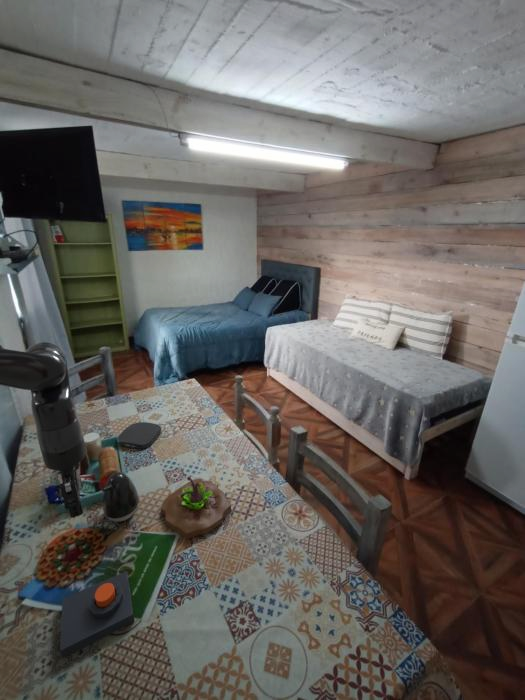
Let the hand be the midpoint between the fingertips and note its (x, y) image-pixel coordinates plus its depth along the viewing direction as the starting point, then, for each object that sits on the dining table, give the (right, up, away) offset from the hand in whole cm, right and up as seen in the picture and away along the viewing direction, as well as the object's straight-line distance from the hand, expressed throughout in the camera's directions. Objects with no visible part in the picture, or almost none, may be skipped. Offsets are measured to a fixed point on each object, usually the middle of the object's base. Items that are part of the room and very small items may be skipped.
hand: (77, 500), depth 70 cm
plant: (+20, -18, +31) cm, 41 cm away
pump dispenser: (-2, -18, +29) cm, 34 cm away
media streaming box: (-11, -4, +65) cm, 66 cm away
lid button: (+5, -23, +2) cm, 24 cm away
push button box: (+3, -28, +3) cm, 28 cm away
